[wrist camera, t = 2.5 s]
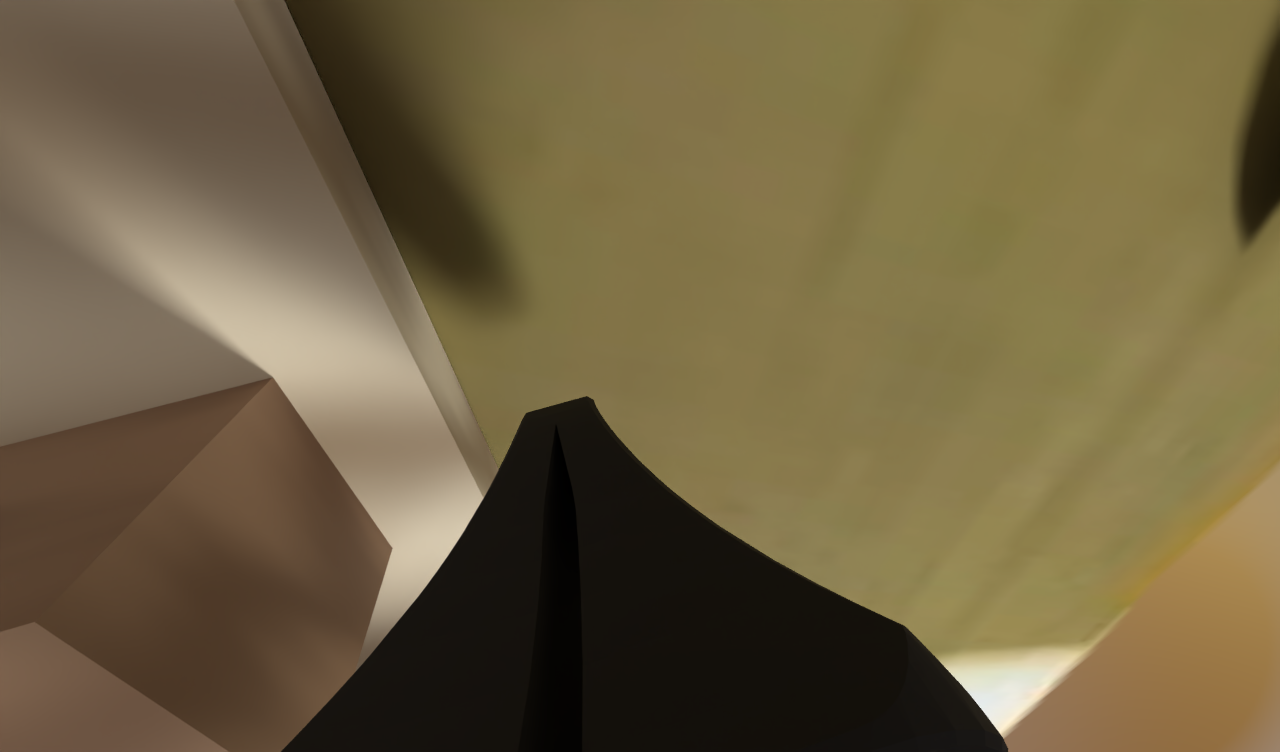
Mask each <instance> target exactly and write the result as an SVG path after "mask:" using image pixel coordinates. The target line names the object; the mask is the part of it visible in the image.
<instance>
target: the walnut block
mask: <svg viewBox="0 0 1280 752" xmlns="http://www.w3.org/2000/svg"><path fill="white" fill-rule="evenodd" d="M392 549H393V548H392V547H391V545H390V544H389V542H388V541H387V539H386V538H385V537H384V535H383V534H382V532H381V531H380V529H379V528H378V527H377V525H376V524H375V522H374V521H373V519H372V518H371V517H370V515H369V514H368V512H367V511H366V509H365V508H364V507H363V505H362V504H361V502H360V501H359V499H358V498H357V497H356V495H355V494H354V492H353V491H352V489H351V488H350V487H349V485H348V484H347V482H346V481H345V479H344V478H343V477H342V475H341V474H340V472H339V471H338V469H337V468H336V467H335V465H334V464H333V462H332V461H331V459H330V458H329V457H328V455H327V454H326V452H325V451H324V449H323V448H322V447H321V445H320V444H319V442H318V441H317V439H316V438H315V437H314V435H313V434H312V432H311V431H310V429H309V428H308V427H307V425H306V424H305V422H304V421H303V419H302V418H301V417H300V415H299V414H298V412H297V411H296V409H295V408H294V407H293V405H292V404H291V402H290V401H289V399H288V398H287V397H286V395H285V394H284V392H283V391H282V389H281V388H280V386H279V385H278V384H277V382H276V381H275V379H274V378H273V377H272V378H268V379H264V380H260V381H256V382H252V383H248V384H244V385H240V386H236V387H233V388H229V389H225V390H221V391H217V392H213V393H209V394H205V395H201V396H197V397H193V398H189V399H185V400H182V401H178V402H174V403H170V404H166V405H162V406H158V407H154V408H150V409H146V410H142V411H138V412H134V413H131V414H127V415H123V416H119V417H115V418H111V419H107V420H103V421H99V422H95V423H91V424H87V425H83V426H80V427H76V428H72V429H68V430H64V431H60V432H56V433H52V434H48V435H44V436H40V437H36V438H32V439H29V440H25V441H21V442H17V443H13V444H9V445H5V446H1V447H0V752H281V751H282V750H283V749H284V748H285V747H286V746H287V745H288V744H289V743H290V742H291V741H292V740H293V739H294V737H295V736H296V735H297V734H298V733H299V732H300V731H301V730H302V729H303V728H304V727H305V726H306V725H307V724H308V723H309V722H310V721H311V719H312V718H313V717H314V716H315V715H316V714H317V713H318V712H319V711H320V710H321V709H322V708H323V707H324V706H325V705H326V704H327V702H328V701H329V700H330V699H331V698H332V697H333V696H334V695H335V694H336V693H337V692H338V690H339V689H340V688H341V687H342V686H343V685H344V684H345V683H346V682H347V680H348V679H349V678H350V677H351V676H352V675H353V674H354V673H355V670H356V667H357V663H358V660H359V657H360V654H361V650H362V647H363V644H364V640H365V637H366V634H367V631H368V627H369V624H370V621H371V618H372V614H373V611H374V608H375V604H376V601H377V598H378V595H379V591H380V588H381V585H382V582H383V578H384V575H385V572H386V568H387V565H388V562H389V559H390V555H391V552H392Z"/></svg>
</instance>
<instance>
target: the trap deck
mask: <svg viewBox="0 0 1280 752" xmlns="http://www.w3.org/2000/svg"><path fill="white" fill-rule="evenodd" d="M272 377H273V378H274V379H275V381H276V382H277V384H278V385H279V386H280V388H281V389H282V391H283V392H284V394H285V395H286V397H287V398H288V399H289V401H290V402H291V404H292V405H293V407H294V408H295V409H296V411H297V412H298V414H299V415H300V417H301V418H302V419H303V421H304V422H305V424H306V425H307V427H308V428H309V429H310V431H311V432H312V434H313V435H314V437H315V438H316V439H317V441H318V442H319V444H320V445H321V447H322V448H323V449H324V451H325V452H326V454H327V455H328V457H329V458H330V459H331V461H332V462H333V464H334V465H335V467H336V468H337V469H338V471H339V472H340V474H341V475H342V477H343V478H344V479H345V481H346V482H347V484H348V485H349V487H350V488H351V489H352V491H353V492H354V494H355V495H356V497H357V498H358V499H359V501H360V502H361V504H362V505H363V507H364V508H365V509H366V511H367V512H368V514H369V515H370V517H371V518H372V519H373V521H374V522H375V524H376V525H377V527H378V528H379V529H380V531H381V532H382V534H383V535H384V537H385V538H386V539H387V541H388V542H389V544H390V545H391V547H392V548H393V549H392V552H391V555H390V559H389V562H388V565H387V568H386V572H385V575H384V578H383V582H382V585H381V588H380V591H379V595H378V598H377V601H376V604H375V608H374V611H373V614H372V618H371V621H370V624H369V627H368V631H367V634H366V637H365V640H364V644H363V647H362V650H361V654H360V657H359V660H358V663H357V667H356V670H357V669H358V668H359V667H360V666H361V665H362V664H363V663H364V661H365V660H366V659H367V658H368V657H369V656H370V655H371V653H372V652H373V651H374V650H375V648H376V647H377V646H378V645H379V644H380V642H381V641H382V640H383V639H384V638H385V636H386V635H387V634H388V633H389V631H390V630H391V629H392V628H393V627H394V625H395V624H396V623H397V622H398V620H399V619H400V618H401V617H402V616H403V614H404V613H405V612H406V611H407V610H408V608H409V607H410V606H411V605H412V603H413V602H414V601H415V600H416V599H417V597H418V596H419V595H420V593H421V592H422V591H423V590H424V588H425V587H426V586H427V584H428V583H429V582H430V580H431V579H432V577H433V576H434V575H435V573H436V572H437V570H438V569H439V568H440V566H441V565H442V563H443V562H444V561H445V559H446V558H447V556H448V555H449V553H450V552H451V550H452V549H453V547H454V546H455V544H456V543H457V541H458V540H459V538H460V537H461V535H462V533H463V532H464V530H465V528H466V527H467V525H468V523H469V522H470V520H471V518H472V517H473V515H474V513H475V512H476V510H477V508H478V507H479V505H480V503H481V501H482V500H483V498H484V496H485V495H486V493H487V491H488V489H489V487H490V485H491V483H492V482H493V480H494V478H495V476H496V474H497V472H498V470H499V469H498V467H497V465H496V463H495V460H494V458H493V456H492V454H491V452H490V450H489V447H488V445H487V443H486V441H485V439H484V436H483V434H482V432H481V430H480V428H479V425H478V423H477V421H476V419H475V417H474V415H473V412H472V410H471V408H470V406H469V404H468V401H467V399H466V397H465V395H464V393H463V390H462V388H461V386H460V384H459V382H458V380H457V377H456V375H455V373H454V371H453V369H452V366H451V364H450V362H449V360H448V358H447V355H446V353H445V351H444V349H443V347H442V345H441V342H440V340H439V338H438V336H437V334H436V331H435V329H434V327H433V325H432V323H431V320H430V318H429V316H428V314H427V312H426V310H425V307H424V305H423V303H422V301H421V299H420V296H419V294H418V292H417V290H416V288H415V285H414V283H413V281H412V279H411V277H410V275H409V272H408V270H407V268H406V266H405V264H404V261H403V259H402V257H401V255H400V253H399V250H398V248H397V246H396V244H395V242H394V239H393V237H392V235H391V233H390V231H389V229H388V226H387V224H386V222H385V220H384V218H383V215H382V213H381V211H380V209H379V207H378V204H377V202H376V200H375V198H374V196H373V194H372V191H371V189H370V187H369V185H368V183H367V180H366V178H365V176H364V174H363V172H362V169H361V167H360V165H359V163H358V161H357V159H356V156H355V154H354V152H353V150H352V148H351V145H350V143H349V141H348V139H347V137H346V134H345V132H344V130H343V128H342V126H341V124H340V121H339V119H338V117H337V115H336V113H335V110H334V108H333V106H332V104H331V102H330V99H329V97H328V95H327V93H326V91H325V89H324V86H323V84H322V82H321V80H320V78H319V75H318V73H317V71H316V69H315V67H314V64H313V62H312V60H311V58H310V56H309V54H308V51H307V49H306V47H305V45H304V43H303V40H302V38H301V36H300V34H299V32H298V29H297V27H296V25H295V23H294V21H293V19H292V16H291V14H290V12H289V10H288V8H287V5H286V3H285V1H284V0H0V447H1V446H5V445H9V444H13V443H17V442H21V441H25V440H29V439H32V438H36V437H40V436H44V435H48V434H52V433H56V432H60V431H64V430H68V429H72V428H76V427H80V426H83V425H87V424H91V423H95V422H99V421H103V420H107V419H111V418H115V417H119V416H123V415H127V414H131V413H134V412H138V411H142V410H146V409H150V408H154V407H158V406H162V405H166V404H170V403H174V402H178V401H182V400H185V399H189V398H193V397H197V396H201V395H205V394H209V393H213V392H217V391H221V390H225V389H229V388H233V387H236V386H240V385H244V384H248V383H252V382H256V381H260V380H264V379H268V378H272ZM356 670H355V672H356Z"/></svg>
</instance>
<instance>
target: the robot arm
mask: <svg viewBox="0 0 1280 752" xmlns="http://www.w3.org/2000/svg"><path fill="white" fill-rule="evenodd" d="M281 752H1008V748H1007V746H1006V744H1005V742H1004V739H1003V737H1002V736H1001V735H1000V733H999V732H998V731H997V729H996V728H995V727H994V725H993V724H992V723H991V721H990V720H989V719H988V717H987V716H986V715H985V713H984V712H983V711H982V709H981V708H980V707H979V706H978V704H977V703H976V702H975V701H974V699H973V698H972V697H971V696H970V694H969V693H968V692H967V691H966V690H965V689H964V688H963V686H962V685H961V684H960V683H959V682H958V681H957V680H956V679H955V678H954V677H953V676H952V675H951V673H950V672H949V671H948V670H947V669H946V668H945V667H944V666H943V665H942V664H941V663H940V662H939V660H938V659H937V658H936V657H935V656H934V655H933V654H932V653H931V652H930V651H929V650H928V649H927V648H926V647H925V646H924V645H923V644H922V643H921V642H920V641H919V640H918V639H917V638H916V637H915V636H914V635H913V634H912V633H911V632H910V631H909V630H908V629H907V628H906V627H905V626H903V625H901V624H899V623H897V622H895V621H893V620H891V619H888V618H886V617H884V616H882V615H880V614H878V613H876V612H873V611H871V610H869V609H867V608H865V607H863V606H861V605H859V604H856V603H854V602H852V601H850V600H848V599H846V598H844V597H842V596H840V595H838V594H836V593H834V592H832V591H830V590H828V589H826V588H824V587H822V586H820V585H818V584H816V583H815V582H813V581H811V580H809V579H807V578H806V577H804V576H802V575H800V574H798V573H796V572H795V571H793V570H791V569H789V568H787V567H785V566H784V565H782V564H780V563H778V562H776V561H774V560H773V559H771V558H770V557H768V556H766V555H765V554H763V553H762V552H760V551H758V550H757V549H755V548H754V547H752V546H750V545H749V544H747V543H746V542H744V541H742V540H741V539H739V538H737V537H736V536H734V535H733V534H731V533H729V532H728V531H726V530H725V529H723V528H721V527H720V526H719V525H717V524H716V523H714V522H713V521H712V520H710V519H709V518H707V517H706V516H705V515H703V514H702V513H700V512H699V511H698V510H696V509H695V508H694V507H692V506H691V505H690V504H688V503H687V502H686V501H685V500H683V499H682V498H681V497H679V496H678V495H677V494H676V493H674V492H673V491H672V490H671V489H670V488H669V487H667V486H666V485H665V484H664V483H663V482H662V481H660V480H659V479H658V478H657V477H656V476H655V475H654V474H653V473H652V472H651V471H650V470H649V469H648V468H646V467H645V466H644V465H643V464H642V463H641V462H640V461H639V460H638V459H637V458H636V457H635V456H634V455H633V454H632V452H631V451H630V450H629V449H628V448H627V447H626V446H625V445H624V444H623V442H622V441H621V440H620V439H619V438H618V437H617V436H616V434H615V433H614V432H613V431H612V430H611V428H610V427H609V426H608V424H607V423H606V421H605V420H604V419H603V417H602V416H601V414H600V413H599V411H598V409H597V407H596V405H595V403H594V400H593V399H591V398H589V397H587V396H586V397H582V398H579V399H575V400H571V401H568V402H564V403H561V404H557V405H553V406H550V407H546V408H542V409H539V410H535V411H531V412H528V413H526V414H525V416H524V418H523V419H522V421H521V424H520V426H519V428H518V430H517V433H516V435H515V437H514V439H513V441H512V444H511V446H510V448H509V450H508V452H507V454H506V456H505V458H504V460H503V462H502V464H501V466H500V468H499V470H498V472H497V474H496V476H495V478H494V480H493V482H492V483H491V485H490V487H489V489H488V491H487V493H486V495H485V496H484V498H483V500H482V501H481V503H480V505H479V507H478V508H477V510H476V512H475V513H474V515H473V517H472V518H471V520H470V522H469V523H468V525H467V527H466V528H465V530H464V532H463V533H462V535H461V537H460V538H459V540H458V541H457V543H456V544H455V546H454V547H453V549H452V550H451V552H450V553H449V555H448V556H447V558H446V559H445V561H444V562H443V563H442V565H441V566H440V568H439V569H438V570H437V572H436V573H435V575H434V576H433V577H432V579H431V580H430V582H429V583H428V584H427V586H426V587H425V588H424V590H423V591H422V592H421V593H420V595H419V596H418V597H417V599H416V600H415V601H414V602H413V603H412V605H411V606H410V607H409V608H408V610H407V611H406V612H405V613H404V614H403V616H402V617H401V618H400V619H399V620H398V622H397V623H396V624H395V625H394V627H393V628H392V629H391V630H390V631H389V633H388V634H387V635H386V636H385V638H384V639H383V640H382V641H381V642H380V644H379V645H378V646H377V647H376V648H375V650H374V651H373V652H372V653H371V655H370V656H369V657H368V658H367V659H366V660H365V661H364V663H363V664H362V665H361V666H360V667H359V668H358V669H357V670H356V672H355V673H354V674H353V675H352V676H351V677H350V678H349V679H348V680H347V682H346V683H345V684H344V685H343V686H342V687H341V688H340V689H339V690H338V692H337V693H336V694H335V695H334V696H333V697H332V698H331V699H330V700H329V701H328V702H327V704H326V705H325V706H324V707H323V708H322V709H321V710H320V711H319V712H318V713H317V714H316V715H315V716H314V717H313V718H312V719H311V721H310V722H309V723H308V724H307V725H306V726H305V727H304V728H303V729H302V730H301V731H300V732H299V733H298V734H297V735H296V736H295V737H294V739H293V740H292V741H291V742H290V743H289V744H288V745H287V746H286V747H285V748H284V749H283V750H282V751H281Z"/></svg>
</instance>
